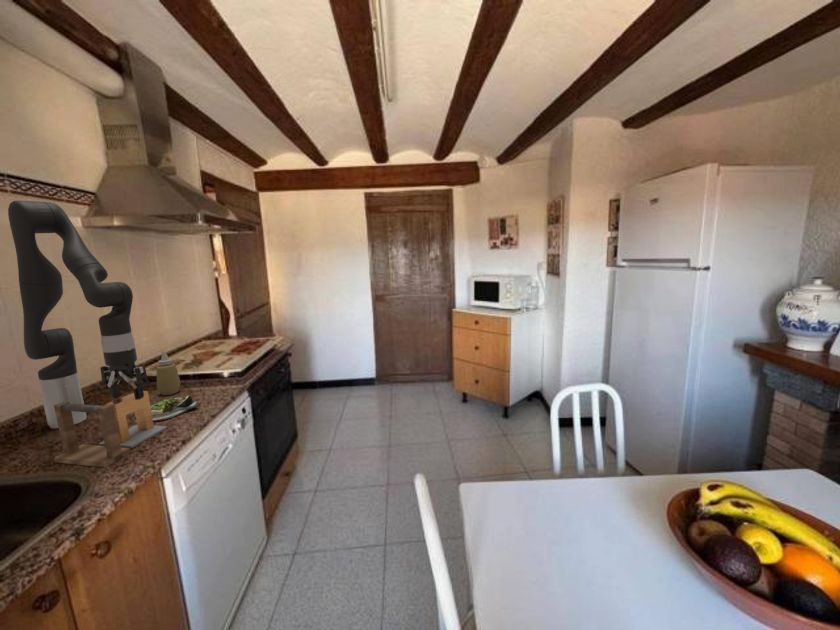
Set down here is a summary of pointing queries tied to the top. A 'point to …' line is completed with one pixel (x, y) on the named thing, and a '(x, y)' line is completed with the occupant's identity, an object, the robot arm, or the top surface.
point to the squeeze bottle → (167, 376)
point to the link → (129, 406)
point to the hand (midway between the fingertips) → (128, 398)
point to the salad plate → (171, 408)
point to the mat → (139, 435)
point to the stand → (85, 453)
